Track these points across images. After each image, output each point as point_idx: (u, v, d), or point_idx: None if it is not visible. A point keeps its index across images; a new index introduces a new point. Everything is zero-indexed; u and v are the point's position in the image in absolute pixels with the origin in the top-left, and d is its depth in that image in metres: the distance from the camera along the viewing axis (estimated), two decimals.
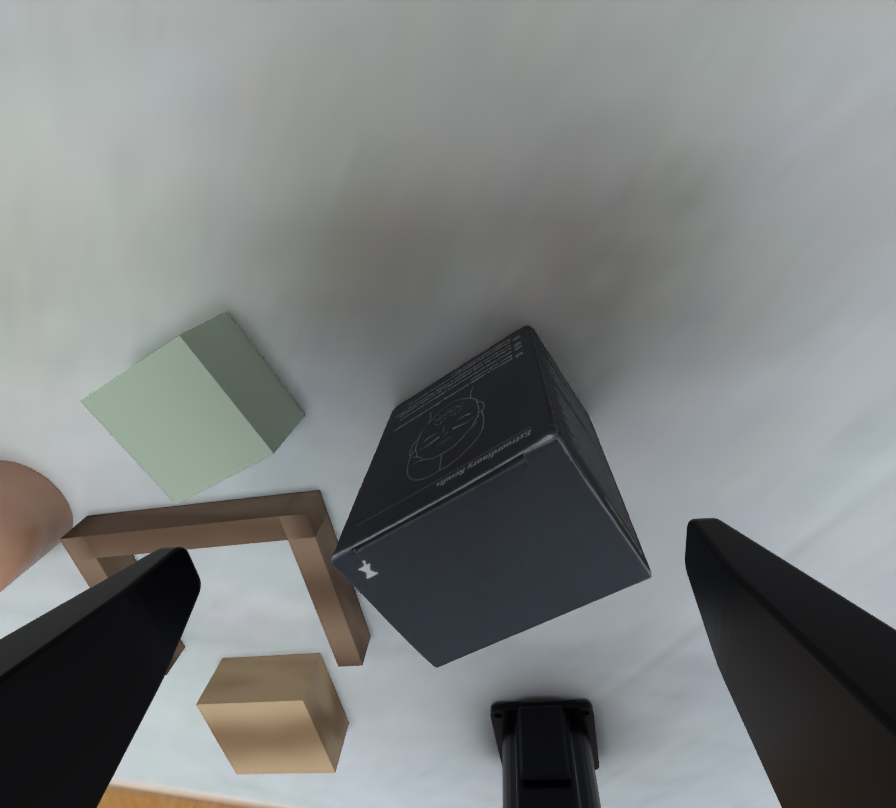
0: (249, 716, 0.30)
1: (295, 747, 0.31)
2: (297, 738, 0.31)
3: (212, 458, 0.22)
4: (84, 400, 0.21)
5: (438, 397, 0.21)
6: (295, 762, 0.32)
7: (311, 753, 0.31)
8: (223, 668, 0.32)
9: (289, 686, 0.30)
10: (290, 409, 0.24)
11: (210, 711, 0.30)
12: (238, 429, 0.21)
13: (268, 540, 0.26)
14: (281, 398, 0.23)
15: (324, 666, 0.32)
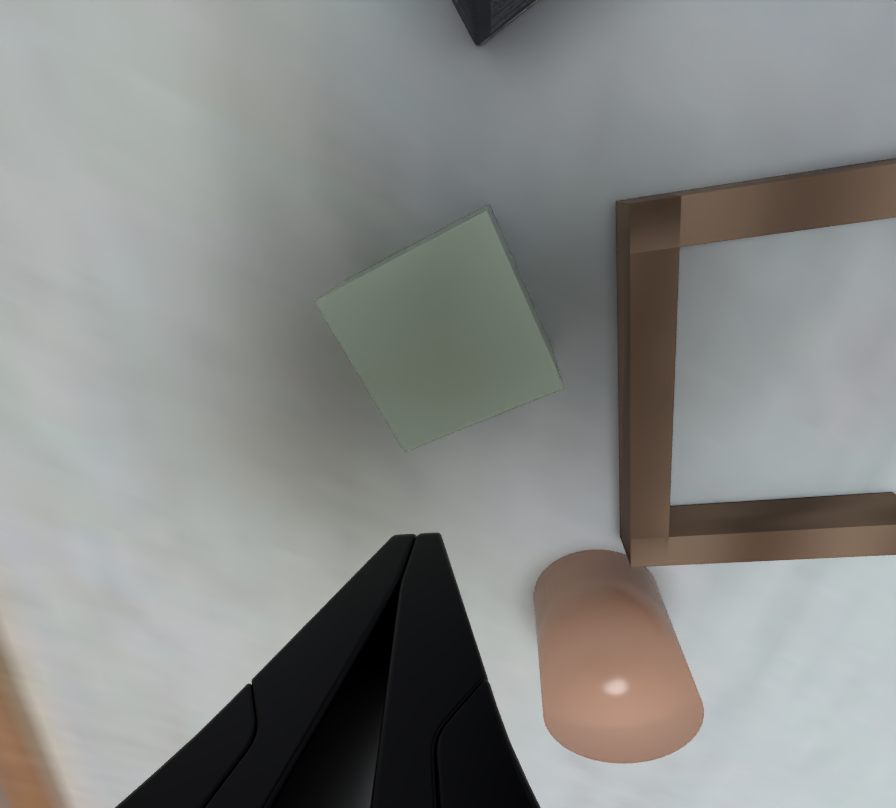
0: None
1: None
2: None
3: (489, 310, 0.15)
4: (403, 446, 0.17)
5: None
6: None
7: None
8: None
9: None
10: (469, 215, 0.17)
11: None
12: (445, 257, 0.15)
13: (677, 283, 0.16)
14: (451, 225, 0.17)
15: None
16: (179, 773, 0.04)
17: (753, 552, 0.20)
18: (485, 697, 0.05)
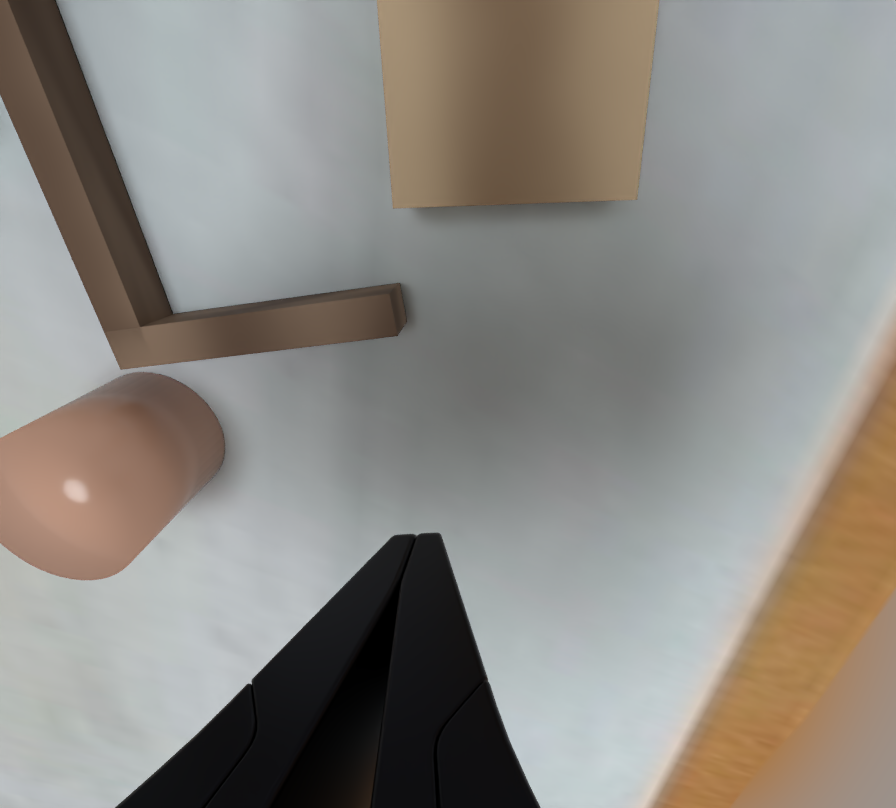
0: (428, 82, 0.13)
1: None
2: None
3: None
4: None
5: None
6: None
7: None
8: None
9: None
10: None
11: (413, 181, 0.14)
12: None
13: None
14: None
15: None
16: (179, 773, 0.04)
17: (231, 342, 0.18)
18: (485, 697, 0.05)
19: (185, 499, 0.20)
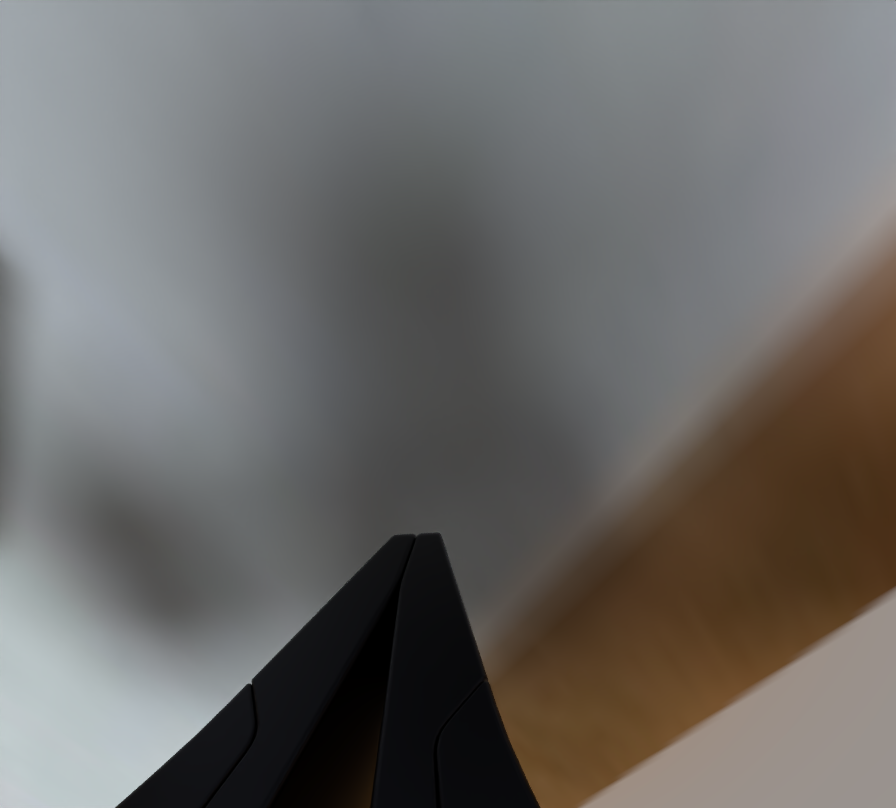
0: None
1: None
2: None
3: None
4: None
5: None
6: None
7: None
8: None
9: None
10: None
11: None
12: None
13: None
14: None
15: None
16: (179, 773, 0.04)
17: None
18: (485, 697, 0.05)
19: None
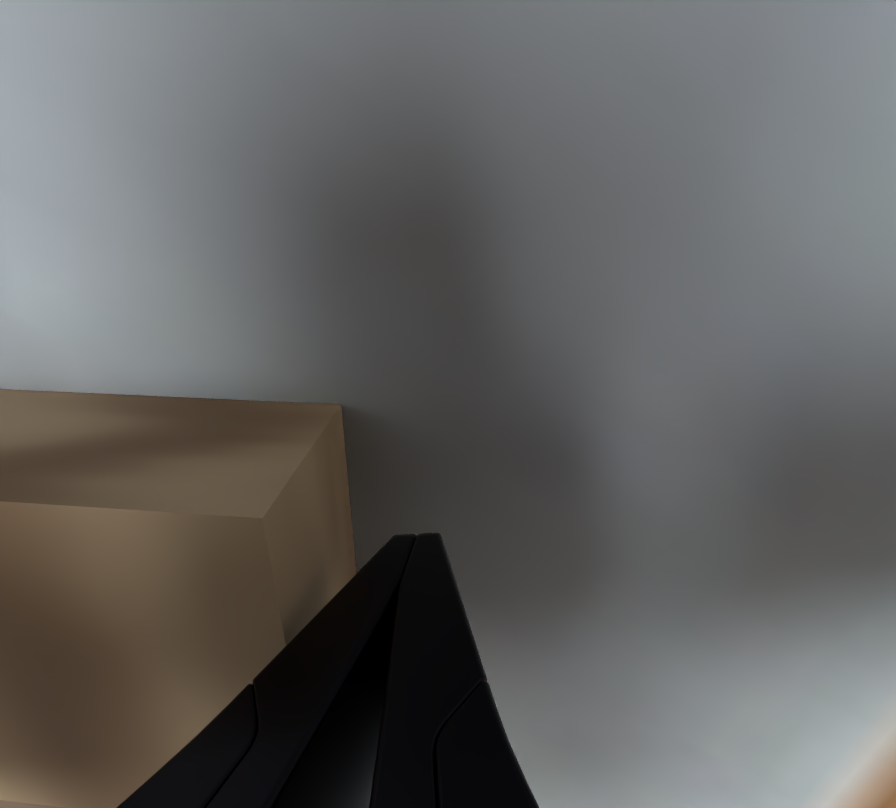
0: None
1: (97, 615, 0.07)
2: (31, 589, 0.07)
3: None
4: None
5: None
6: (208, 651, 0.07)
7: (126, 571, 0.06)
8: None
9: None
10: None
11: None
12: None
13: None
14: None
15: (24, 395, 0.09)
16: (180, 773, 0.04)
17: None
18: (484, 697, 0.05)
19: None
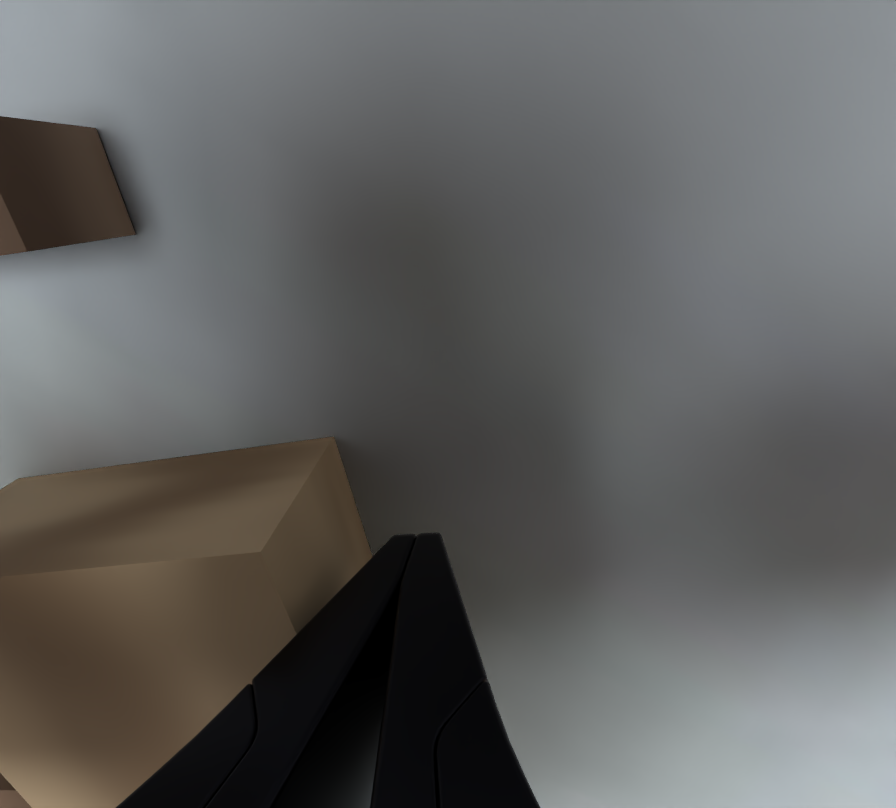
0: (37, 751, 0.09)
1: (140, 663, 0.07)
2: (81, 647, 0.07)
3: None
4: None
5: None
6: (244, 681, 0.07)
7: (156, 619, 0.07)
8: None
9: None
10: None
11: None
12: None
13: None
14: None
15: (60, 473, 0.10)
16: (179, 773, 0.04)
17: None
18: (485, 697, 0.05)
19: None
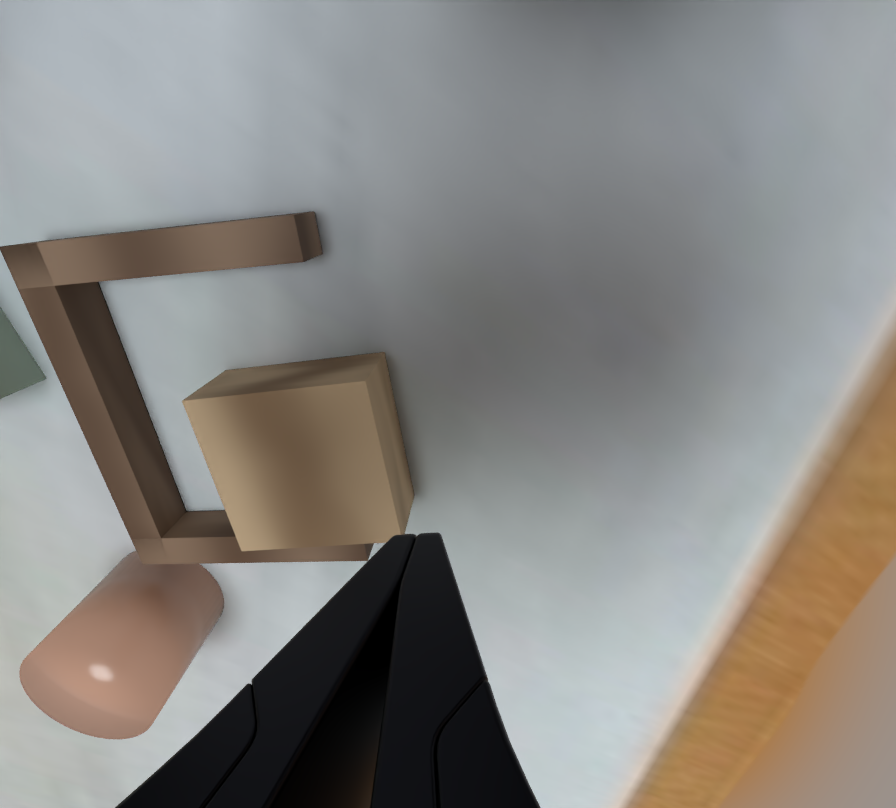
0: (245, 487, 0.19)
1: (306, 435, 0.18)
2: (282, 427, 0.18)
3: None
4: None
5: None
6: (348, 444, 0.18)
7: (318, 412, 0.18)
8: None
9: None
10: None
11: (251, 537, 0.20)
12: None
13: (69, 316, 0.18)
14: None
15: (247, 368, 0.21)
16: (179, 773, 0.04)
17: (234, 554, 0.23)
18: (485, 697, 0.05)
19: (190, 662, 0.25)
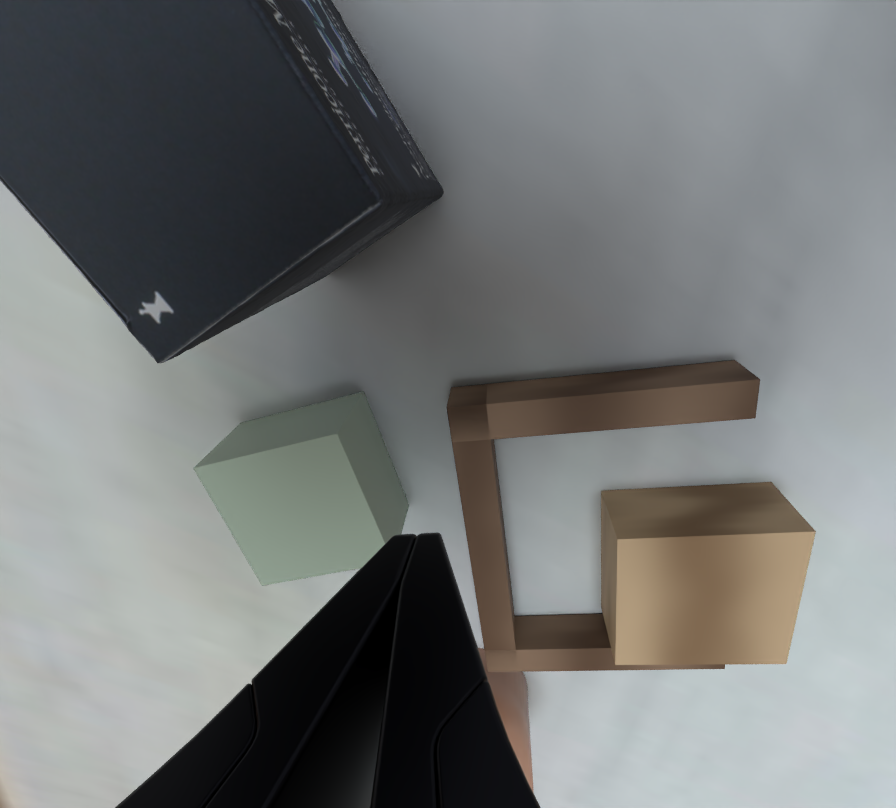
0: (646, 613, 0.20)
1: (732, 573, 0.19)
2: (710, 565, 0.19)
3: (336, 499, 0.19)
4: (261, 581, 0.21)
5: None
6: (772, 582, 0.19)
7: (753, 555, 0.19)
8: (604, 612, 0.24)
9: (611, 548, 0.20)
10: (342, 402, 0.20)
11: (631, 653, 0.21)
12: (303, 458, 0.18)
13: (493, 464, 0.20)
14: (327, 407, 0.20)
15: (627, 491, 0.22)
16: (179, 773, 0.04)
17: (587, 663, 0.23)
18: (485, 697, 0.05)
19: None
